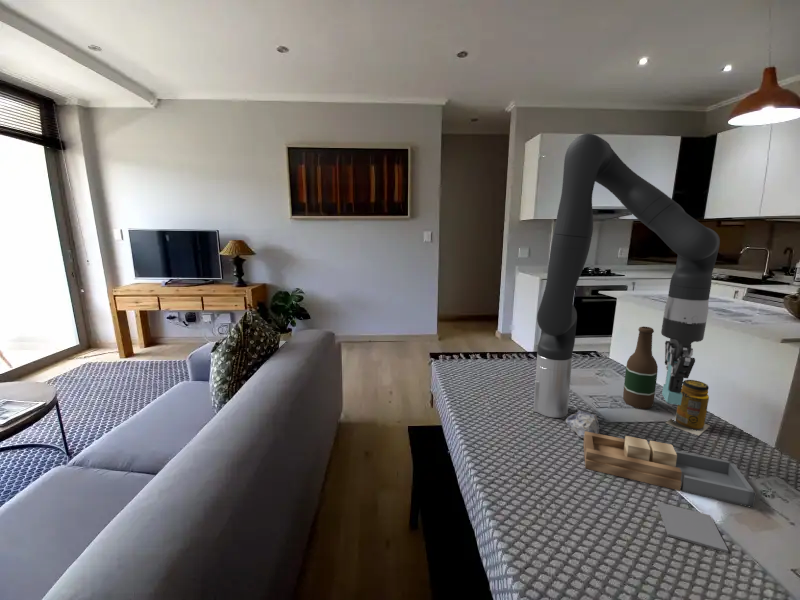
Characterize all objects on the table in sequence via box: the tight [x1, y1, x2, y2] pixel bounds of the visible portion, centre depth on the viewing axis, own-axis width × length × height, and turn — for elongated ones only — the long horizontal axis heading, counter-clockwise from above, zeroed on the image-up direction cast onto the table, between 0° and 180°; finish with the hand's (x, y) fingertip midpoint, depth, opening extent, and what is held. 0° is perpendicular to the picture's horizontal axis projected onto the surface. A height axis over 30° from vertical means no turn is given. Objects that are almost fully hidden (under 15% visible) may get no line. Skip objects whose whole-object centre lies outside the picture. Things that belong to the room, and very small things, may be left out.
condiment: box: [665, 379, 711, 437], centre depth 93 cm, size 7×8×12 cm
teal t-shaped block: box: [661, 364, 685, 406], centre depth 81 cm, size 2×5×8 cm, turn 155°
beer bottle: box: [622, 326, 659, 410], centre depth 104 cm, size 8×8×24 cm
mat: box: [656, 501, 729, 554], centre depth 62 cm, size 8×8×1 cm
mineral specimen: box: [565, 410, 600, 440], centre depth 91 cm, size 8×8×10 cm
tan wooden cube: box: [624, 435, 650, 461], centre depth 77 cm, size 4×4×4 cm
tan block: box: [648, 440, 677, 467], centre depth 75 cm, size 4×4×4 cm
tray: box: [674, 449, 756, 508], centre depth 72 cm, size 11×10×3 cm
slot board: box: [582, 431, 682, 491], centre depth 78 cm, size 17×10×4 cm, turn 65°
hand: (672, 388), depth 81 cm, fingers closed on teal t-shaped block, 2 cm apart
